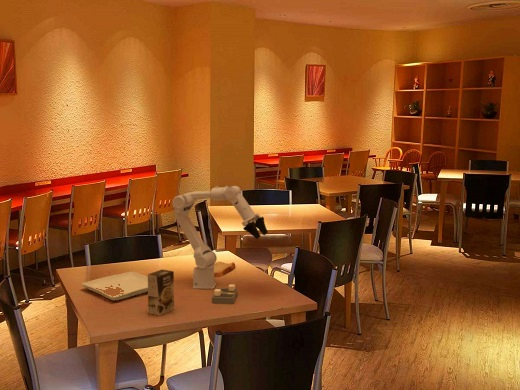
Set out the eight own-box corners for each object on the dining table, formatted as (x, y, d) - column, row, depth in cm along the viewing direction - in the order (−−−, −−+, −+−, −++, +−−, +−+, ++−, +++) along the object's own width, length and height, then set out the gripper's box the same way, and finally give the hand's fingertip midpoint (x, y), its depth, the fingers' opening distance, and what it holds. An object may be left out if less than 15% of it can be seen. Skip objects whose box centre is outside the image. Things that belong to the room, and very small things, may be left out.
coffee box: (160, 316, 233) (159, 276, 231) (147, 313, 237) (146, 274, 234) (175, 309, 241) (174, 271, 238) (163, 306, 244) (162, 268, 242)
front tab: (214, 295, 249) (214, 291, 249) (215, 293, 252) (215, 288, 252) (220, 295, 249) (220, 291, 249) (221, 293, 252) (221, 289, 252)
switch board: (211, 303, 248) (211, 297, 248) (217, 293, 261) (217, 287, 261) (233, 303, 248) (233, 297, 247) (237, 293, 260) (237, 288, 260)
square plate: (80, 290, 266) (80, 282, 265) (132, 278, 285) (132, 270, 285) (113, 305, 247) (112, 296, 247) (166, 290, 266) (166, 282, 266)
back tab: (228, 290, 256) (228, 286, 255) (229, 288, 259) (229, 284, 258) (234, 291, 256) (234, 286, 255) (235, 288, 258) (235, 284, 258)
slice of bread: (213, 278, 284) (213, 271, 284) (198, 269, 300) (198, 262, 299) (246, 273, 293) (246, 266, 292) (230, 264, 309) (230, 257, 308)
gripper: (243, 208, 250) (262, 234, 248) (258, 202, 263) (275, 227, 261) (232, 217, 253) (250, 243, 251) (247, 210, 266) (264, 235, 264)
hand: (262, 235), depth 256 cm, fingers open, 7 cm apart
